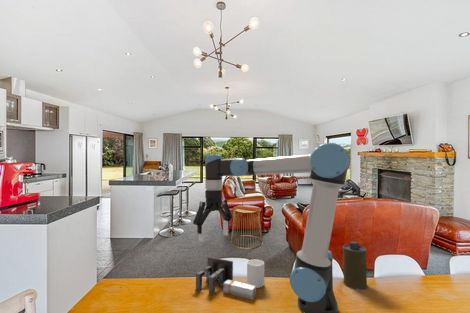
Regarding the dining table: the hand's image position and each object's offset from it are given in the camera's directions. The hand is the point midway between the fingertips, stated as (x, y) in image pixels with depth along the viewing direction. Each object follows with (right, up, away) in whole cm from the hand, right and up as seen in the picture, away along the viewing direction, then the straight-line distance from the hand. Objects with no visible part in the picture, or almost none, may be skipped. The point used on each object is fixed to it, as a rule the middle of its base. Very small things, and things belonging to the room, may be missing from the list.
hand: (214, 238), depth 105 cm
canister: (+67, -26, +11) cm, 73 cm away
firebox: (-1, -25, +9) cm, 27 cm away
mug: (+19, -26, +12) cm, 34 cm away
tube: (+11, -25, +1) cm, 27 cm away
